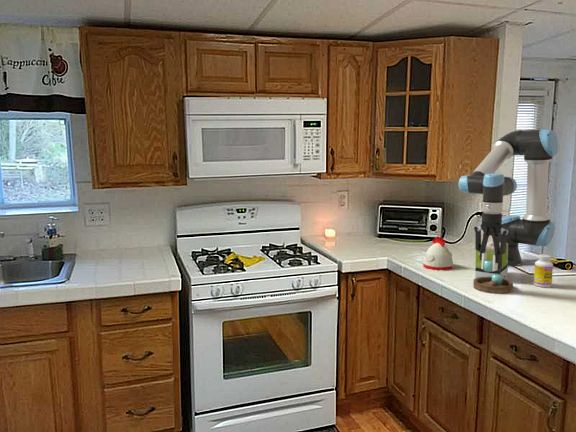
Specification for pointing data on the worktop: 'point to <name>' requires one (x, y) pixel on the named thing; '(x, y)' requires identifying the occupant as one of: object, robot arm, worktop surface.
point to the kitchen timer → (438, 256)
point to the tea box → (502, 265)
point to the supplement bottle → (543, 271)
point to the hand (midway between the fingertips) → (489, 269)
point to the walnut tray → (492, 285)
